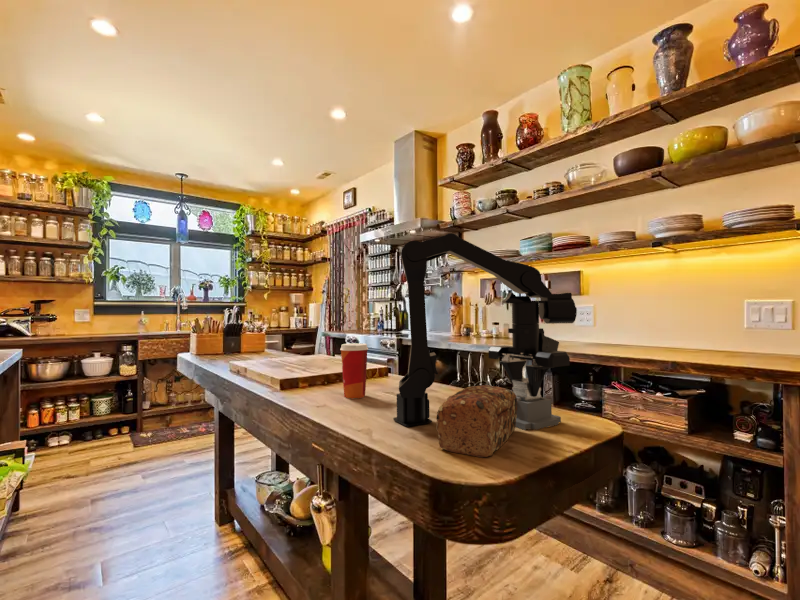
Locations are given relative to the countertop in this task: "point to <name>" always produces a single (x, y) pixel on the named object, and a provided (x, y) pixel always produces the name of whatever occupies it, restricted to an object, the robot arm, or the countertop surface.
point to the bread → (477, 420)
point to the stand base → (535, 414)
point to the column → (524, 390)
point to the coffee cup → (354, 369)
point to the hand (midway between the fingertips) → (526, 394)
